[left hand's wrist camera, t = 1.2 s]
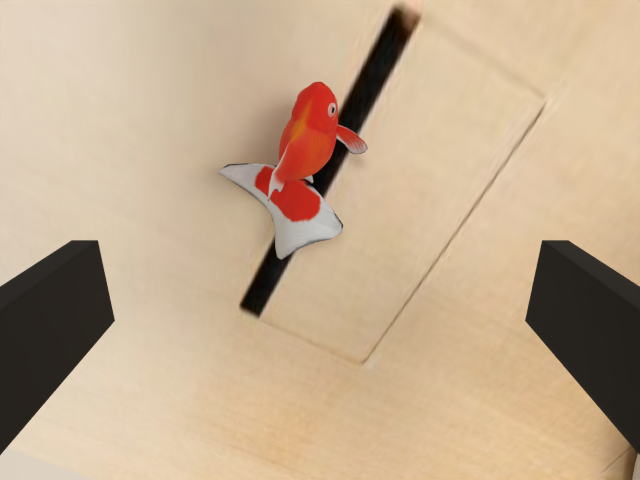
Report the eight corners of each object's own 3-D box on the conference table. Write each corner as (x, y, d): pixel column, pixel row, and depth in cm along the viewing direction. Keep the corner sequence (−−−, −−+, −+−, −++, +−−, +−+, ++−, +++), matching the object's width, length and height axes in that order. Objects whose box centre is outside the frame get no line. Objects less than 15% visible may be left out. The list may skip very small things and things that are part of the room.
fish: (427, 141, 32) (375, 185, 25) (329, 249, 43) (273, 302, 36) (329, 51, 33) (252, 69, 26) (257, 179, 44) (188, 217, 36)
